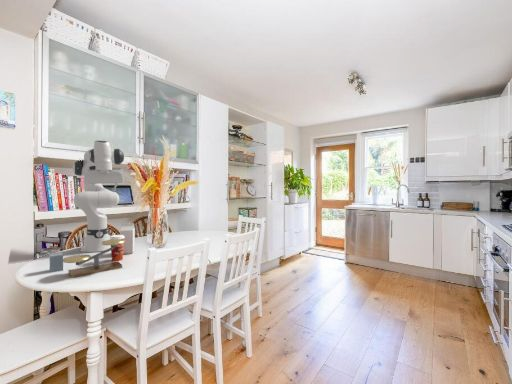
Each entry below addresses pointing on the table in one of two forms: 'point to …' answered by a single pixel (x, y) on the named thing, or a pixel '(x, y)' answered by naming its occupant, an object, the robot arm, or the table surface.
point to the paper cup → (117, 249)
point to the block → (56, 262)
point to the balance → (96, 268)
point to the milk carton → (128, 237)
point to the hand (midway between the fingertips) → (105, 191)
